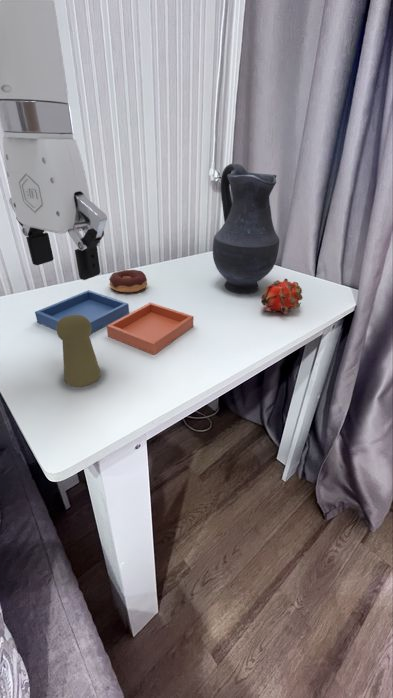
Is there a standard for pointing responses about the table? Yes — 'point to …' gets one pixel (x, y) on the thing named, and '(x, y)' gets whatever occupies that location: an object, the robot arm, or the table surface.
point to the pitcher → (245, 230)
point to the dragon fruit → (282, 296)
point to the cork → (78, 351)
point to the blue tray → (84, 310)
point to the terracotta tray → (150, 327)
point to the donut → (128, 281)
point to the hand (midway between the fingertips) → (66, 269)
